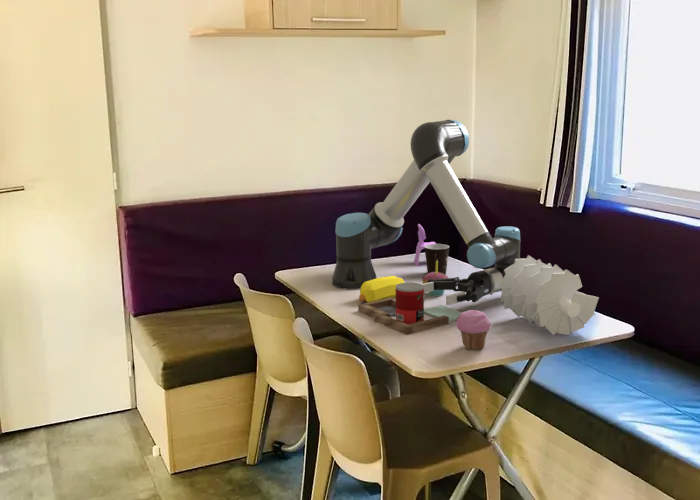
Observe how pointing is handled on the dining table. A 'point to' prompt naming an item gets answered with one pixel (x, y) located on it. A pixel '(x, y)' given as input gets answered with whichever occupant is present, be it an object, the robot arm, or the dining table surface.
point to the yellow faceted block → (379, 288)
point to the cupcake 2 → (473, 328)
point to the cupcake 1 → (435, 276)
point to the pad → (443, 312)
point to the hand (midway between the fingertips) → (431, 295)
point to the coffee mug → (436, 257)
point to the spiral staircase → (546, 296)
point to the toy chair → (421, 243)
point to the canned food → (409, 302)
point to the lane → (387, 309)
